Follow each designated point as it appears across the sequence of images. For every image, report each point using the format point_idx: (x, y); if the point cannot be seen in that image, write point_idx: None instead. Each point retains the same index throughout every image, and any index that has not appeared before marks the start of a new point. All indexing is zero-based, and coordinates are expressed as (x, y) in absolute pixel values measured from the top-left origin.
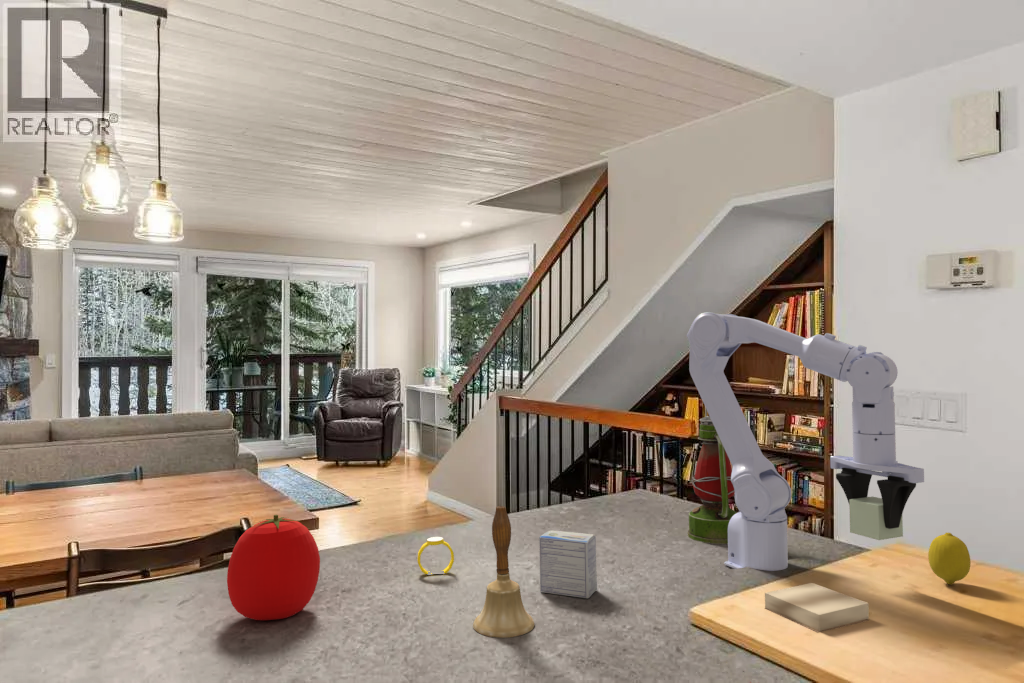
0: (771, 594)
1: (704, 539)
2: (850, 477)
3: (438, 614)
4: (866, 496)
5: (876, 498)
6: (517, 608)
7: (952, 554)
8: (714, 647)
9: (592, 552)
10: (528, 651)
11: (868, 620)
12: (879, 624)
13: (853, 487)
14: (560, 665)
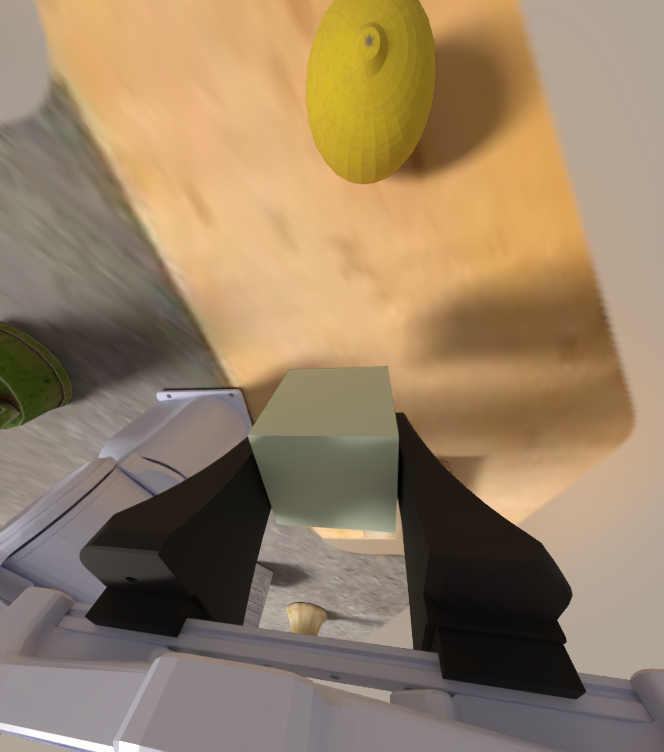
0: (372, 536)
1: (62, 405)
2: (233, 618)
3: (278, 621)
4: (250, 461)
5: (288, 453)
6: (315, 631)
7: (412, 141)
8: (400, 564)
9: (248, 615)
10: (351, 618)
11: (450, 471)
12: (441, 439)
13: (250, 551)
14: (378, 617)
